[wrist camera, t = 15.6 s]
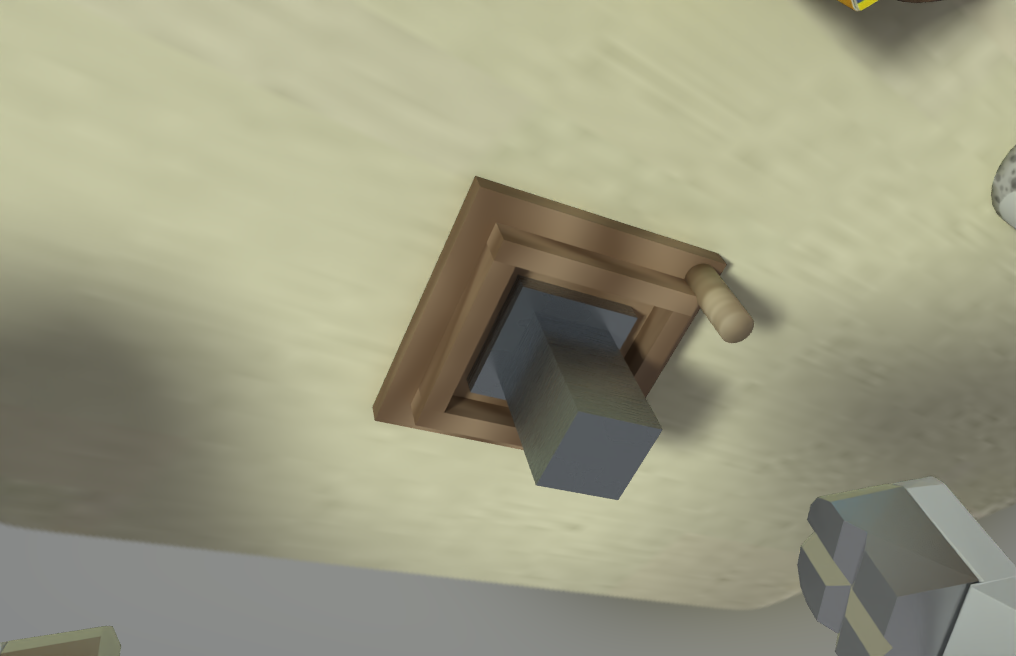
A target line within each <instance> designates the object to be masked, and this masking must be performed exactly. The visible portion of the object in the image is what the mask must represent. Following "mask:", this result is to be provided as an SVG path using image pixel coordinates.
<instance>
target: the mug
mask: <svg viewBox="0 0 1016 656" xmlns="http://www.w3.org/2000/svg"><path fill="white" fill-rule="evenodd" d="M991 197H992V205H993V207H994V209H995V211H996V213H997V214H998V215H999V216H1000V217H1001V218H1002V219H1003V220H1004V221H1006V222H1007V223H1008V224H1010V225H1011V226H1013V227H1014V228H1015V229H1016V145H1015V146H1014V147H1013V148H1012V149H1011V150H1010V152H1009V153H1008V154H1007V156H1006V157H1005V158H1004V160H1003V161H1002V163H1001V165H1000V166H999V168H998V170H997V172H996V175H995V177H994V181H993V184H992V192H991Z"/></svg>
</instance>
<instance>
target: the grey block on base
mask: <svg viewBox="0 0 1016 656" xmlns="http://www.w3.org/2000/svg"><path fill="white" fill-rule="evenodd" d="M637 319H638V318H637V316H636V314H635V313H634V311H633V309H632V308H631V306H628V305H625V304H621V303H618V302H614V301H610V300H607V299H603V298H600V297H596V296H592V295H589V294H585V293H582V292H578V291H575V290H571V289H567V288H564V287H560V286H557V285H553V284H549V283H546V282H542V281H539V280H535V279H531V278H528V277H524V276H521V275H517V278H516V280H515V282H514V284H513V286H512V288H511V290H510V292H509V294H508V296H507V298H506V300H505V302H504V304H503V306H502V308H501V310H500V312H499V314H498V316H497V318H496V320H495V322H494V324H493V326H492V328H491V330H490V332H489V334H488V336H487V338H486V340H485V342H484V344H483V346H482V348H481V351H480V353H479V355H478V357H477V359H476V361H475V363H474V365H473V367H472V369H471V371H470V373H469V375H468V377H467V383H468V386H469V389H470V392H471V393H476V394H480V395H485V396H489V397H494V398H499V399H503V400H506V401H507V404H508V407H509V410H510V412H511V415H512V418H513V421H514V424H515V427H516V430H517V432H518V435H519V438H520V441H521V444H522V447H523V449H524V452H525V455H526V458H527V461H528V464H529V467H530V469H531V472H532V475H533V478H534V481H535V484H536V485H537V486H543V487H548V488H554V489H559V490H565V491H571V492H576V493H582V494H587V495H593V496H598V497H604V498H609V499H615V500H619V498H620V496H621V495H622V493H623V492H624V490H625V489H626V487H627V485H628V484H629V482H630V481H631V479H632V477H633V476H634V474H635V473H636V471H637V470H638V468H639V466H640V465H641V463H642V462H643V460H644V458H645V457H646V455H647V454H648V452H649V450H650V449H651V447H652V446H653V444H654V443H655V441H656V439H657V438H658V436H659V435H660V433H661V431H662V428H661V426H660V424H659V422H658V420H657V419H656V417H655V415H654V413H653V411H652V409H651V407H650V406H649V404H648V402H647V400H646V398H645V396H644V395H643V393H642V391H641V389H640V387H639V385H638V384H637V382H636V380H635V378H634V376H633V374H632V372H631V371H630V369H629V367H628V365H627V363H626V361H625V360H624V358H623V356H622V354H621V352H620V348H621V347H622V345H623V343H624V341H625V340H626V338H627V336H628V334H629V333H630V331H631V329H632V327H633V326H634V324H635V322H636V320H637Z"/></svg>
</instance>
